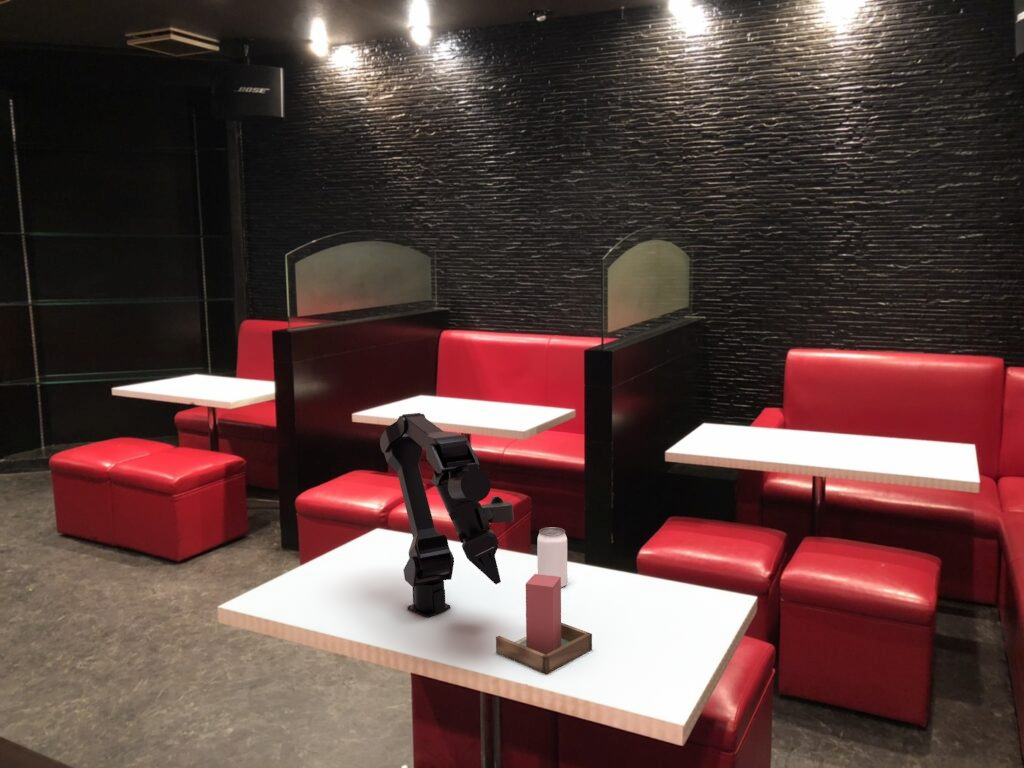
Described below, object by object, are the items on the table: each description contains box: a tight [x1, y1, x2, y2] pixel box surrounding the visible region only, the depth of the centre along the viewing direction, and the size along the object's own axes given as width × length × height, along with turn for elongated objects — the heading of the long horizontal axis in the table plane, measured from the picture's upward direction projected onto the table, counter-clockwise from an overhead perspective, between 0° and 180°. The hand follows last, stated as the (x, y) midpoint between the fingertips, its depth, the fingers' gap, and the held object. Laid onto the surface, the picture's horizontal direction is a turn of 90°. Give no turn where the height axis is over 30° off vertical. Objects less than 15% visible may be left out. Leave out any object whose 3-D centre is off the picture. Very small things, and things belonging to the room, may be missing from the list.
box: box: [495, 622, 593, 675], centre depth 152 cm, size 12×13×3 cm
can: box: [536, 526, 568, 589], centre depth 184 cm, size 6×6×12 cm
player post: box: [525, 573, 562, 655], centre depth 152 cm, size 5×5×13 cm
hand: (495, 577), depth 157 cm, fingers open, 9 cm apart
